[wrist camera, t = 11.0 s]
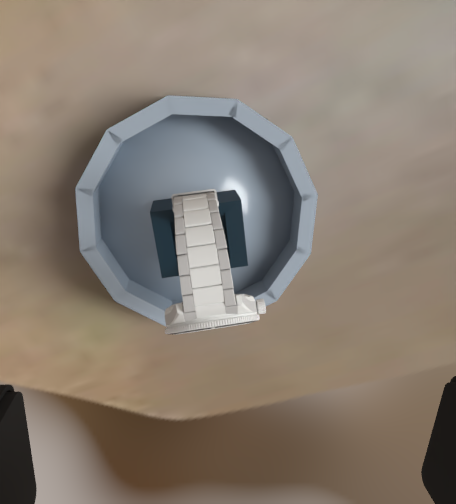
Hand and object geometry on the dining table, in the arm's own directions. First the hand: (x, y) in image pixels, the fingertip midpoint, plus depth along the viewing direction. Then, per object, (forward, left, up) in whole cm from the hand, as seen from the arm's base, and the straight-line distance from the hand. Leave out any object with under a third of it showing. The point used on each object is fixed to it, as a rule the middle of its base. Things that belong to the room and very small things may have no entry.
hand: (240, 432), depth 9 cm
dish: (0, 0, -21) cm, 21 cm away
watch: (+1, 0, -21) cm, 21 cm away
